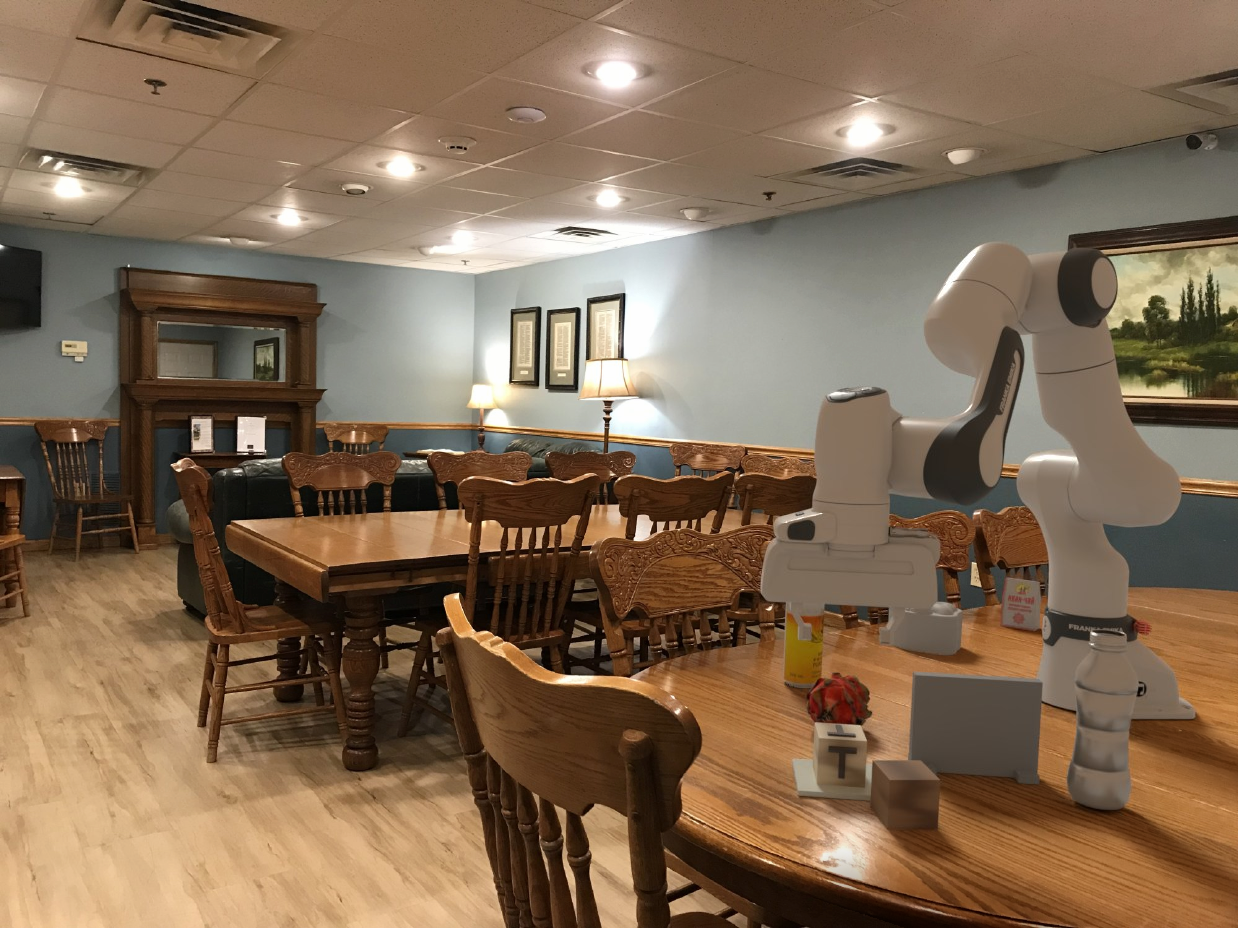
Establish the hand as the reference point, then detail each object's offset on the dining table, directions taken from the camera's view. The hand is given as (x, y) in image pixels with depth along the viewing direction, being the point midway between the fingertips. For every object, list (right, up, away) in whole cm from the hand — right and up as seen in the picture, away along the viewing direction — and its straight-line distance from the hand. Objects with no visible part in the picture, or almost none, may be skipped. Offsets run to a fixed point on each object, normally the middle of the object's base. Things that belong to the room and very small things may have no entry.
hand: (844, 641), depth 112 cm
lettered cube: (-1, -16, +1) cm, 16 cm away
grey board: (+17, -17, +5) cm, 25 cm away
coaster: (-1, -17, +1) cm, 17 cm away
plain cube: (+4, -18, -9) cm, 20 cm away
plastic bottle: (+28, -18, -4) cm, 34 cm away
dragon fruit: (+3, -16, +19) cm, 25 cm away
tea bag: (+57, -13, +86) cm, 104 cm away
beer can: (+3, -15, +41) cm, 43 cm away
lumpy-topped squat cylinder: (+31, -14, +68) cm, 76 cm away
